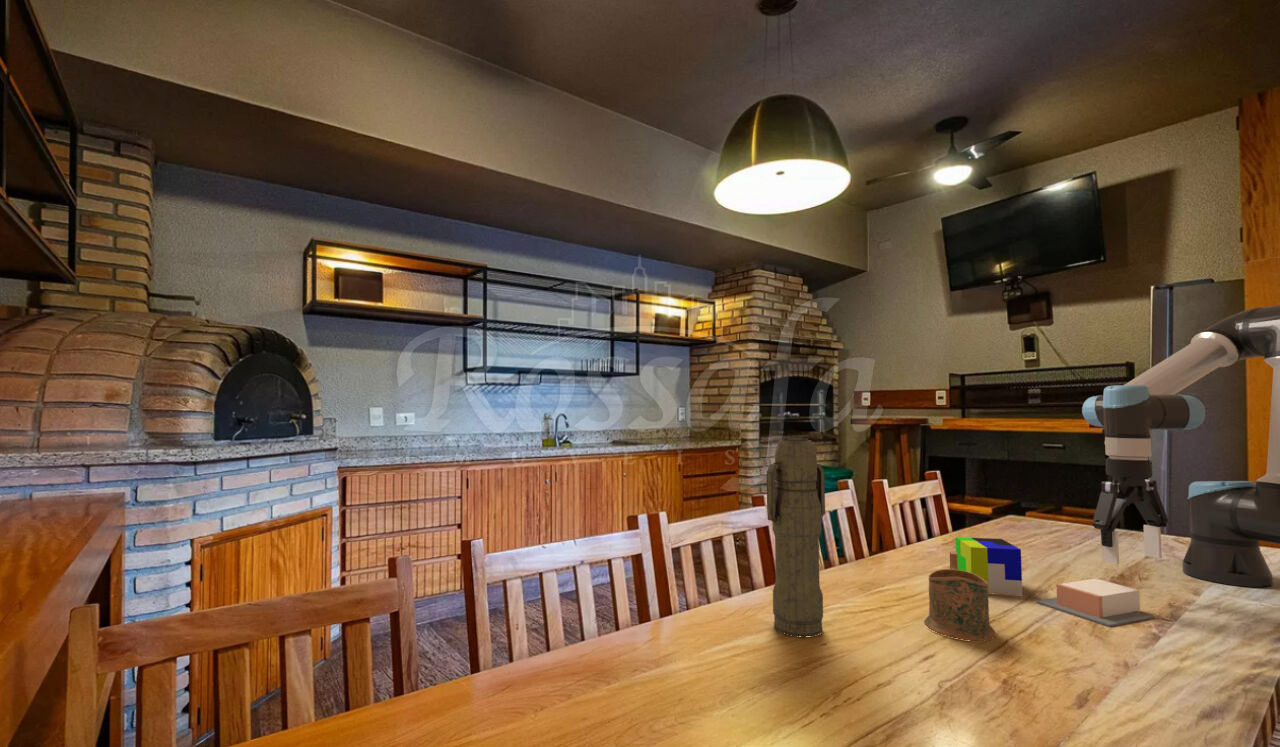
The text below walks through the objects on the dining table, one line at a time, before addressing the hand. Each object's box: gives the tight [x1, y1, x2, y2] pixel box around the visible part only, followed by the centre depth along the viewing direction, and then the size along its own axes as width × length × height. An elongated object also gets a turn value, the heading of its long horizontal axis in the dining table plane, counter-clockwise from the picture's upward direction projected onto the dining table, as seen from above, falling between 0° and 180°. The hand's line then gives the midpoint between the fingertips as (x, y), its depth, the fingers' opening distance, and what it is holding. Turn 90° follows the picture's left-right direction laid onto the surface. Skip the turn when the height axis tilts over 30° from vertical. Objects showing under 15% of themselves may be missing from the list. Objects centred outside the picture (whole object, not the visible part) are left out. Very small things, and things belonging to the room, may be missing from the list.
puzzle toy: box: [955, 536, 1023, 596], centre depth 131 cm, size 10×10×10 cm
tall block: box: [1056, 578, 1141, 618], centre depth 117 cm, size 4×8×12 cm
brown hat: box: [923, 550, 997, 642], centre depth 110 cm, size 12×18×12 cm, turn 155°
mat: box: [1035, 596, 1155, 628], centre depth 116 cm, size 13×14×1 cm
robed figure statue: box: [766, 437, 826, 638], centre depth 108 cm, size 9×12×35 cm
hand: (1132, 559), depth 121 cm, fingers open, 13 cm apart
